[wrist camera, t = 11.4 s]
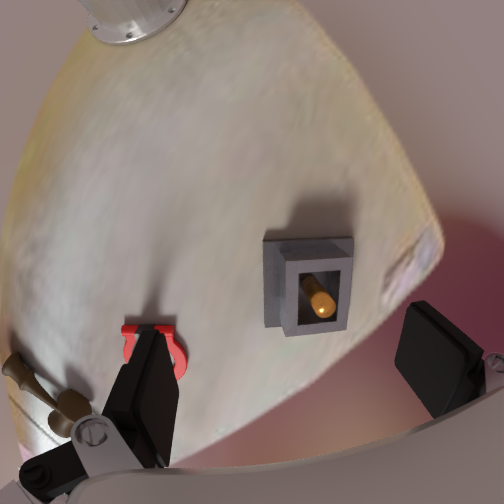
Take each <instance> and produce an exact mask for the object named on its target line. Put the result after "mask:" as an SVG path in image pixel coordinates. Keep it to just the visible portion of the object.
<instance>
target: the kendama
mask: <svg viewBox="0 0 504 504" xmlns="http://www.w3.org/2000/svg"><path fill="white" fill-rule="evenodd" d="M2 374H3V375H5V376H10V377H11V378H12V379H13V380H15V381H16V383H17V384H18V386H19V388H20V390H26V391H28V392H30V393H31V394H33V395H34V396H36V397H37V398H39V399H40V400H41V401H43V402H44V403H46V404H47V405H49V406H50V407H51V408H53V409H54V410H53V411H52V412H51V413H50V414H49V416H48V425H49V427H50V428H51V430H52V431H53V432H54V433H55V434H57V435H58V436H60V437H63V438H69V437H71V436H70V434H71V429H72V427H73V425H74V424H75V423H76V422H77V421H78V420H79V419H81V418H82V417H84V416H88V415H91V414H92V408H91V405H90V403H89V402H88V400H87V399H86V398H85V397H83V396H82V395H81V394H79V393H78V392H76V391H74V390H70V389H69V390H65V391H63V392H62V393H61V394H60V395H59V398H58V403H57V402H56V401H55V400H54V399H53V398H52V397H51V396H50V395H49V394H48V393H47V392H46V391H45V389H44V388H43V387H42V386H41V385H40V384H39V382H38V381H37V379H36V378H35V375H34V371H33V370H29V369H27V368H26V367H25V365H24V364H23V363H22V361H21V359H20V356H19V354H18V353H17V352H15V353H13V354H12V355H10V356H9V357H8V359H7V360H6V361H5V363H4V365H3V367H2Z"/></svg>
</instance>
